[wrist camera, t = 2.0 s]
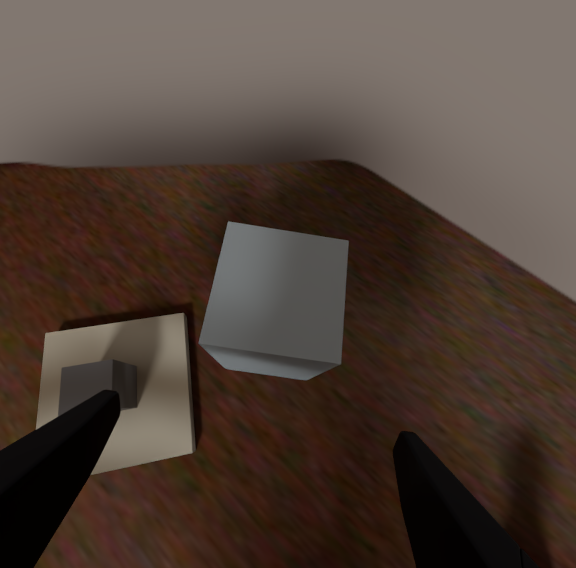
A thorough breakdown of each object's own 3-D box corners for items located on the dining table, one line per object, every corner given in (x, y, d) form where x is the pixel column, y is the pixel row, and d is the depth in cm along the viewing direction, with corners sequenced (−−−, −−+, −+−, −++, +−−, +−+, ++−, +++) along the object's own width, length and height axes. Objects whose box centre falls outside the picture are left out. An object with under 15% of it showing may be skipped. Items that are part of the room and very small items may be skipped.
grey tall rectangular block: (306, 380, 21) (340, 364, 12) (225, 368, 21) (198, 343, 12) (314, 303, 24) (348, 240, 14) (240, 292, 23) (228, 221, 14)
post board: (195, 450, 19) (178, 463, 15) (42, 483, 18) (-24, 508, 14) (186, 316, 22) (169, 296, 18) (55, 336, 21) (4, 319, 17)
